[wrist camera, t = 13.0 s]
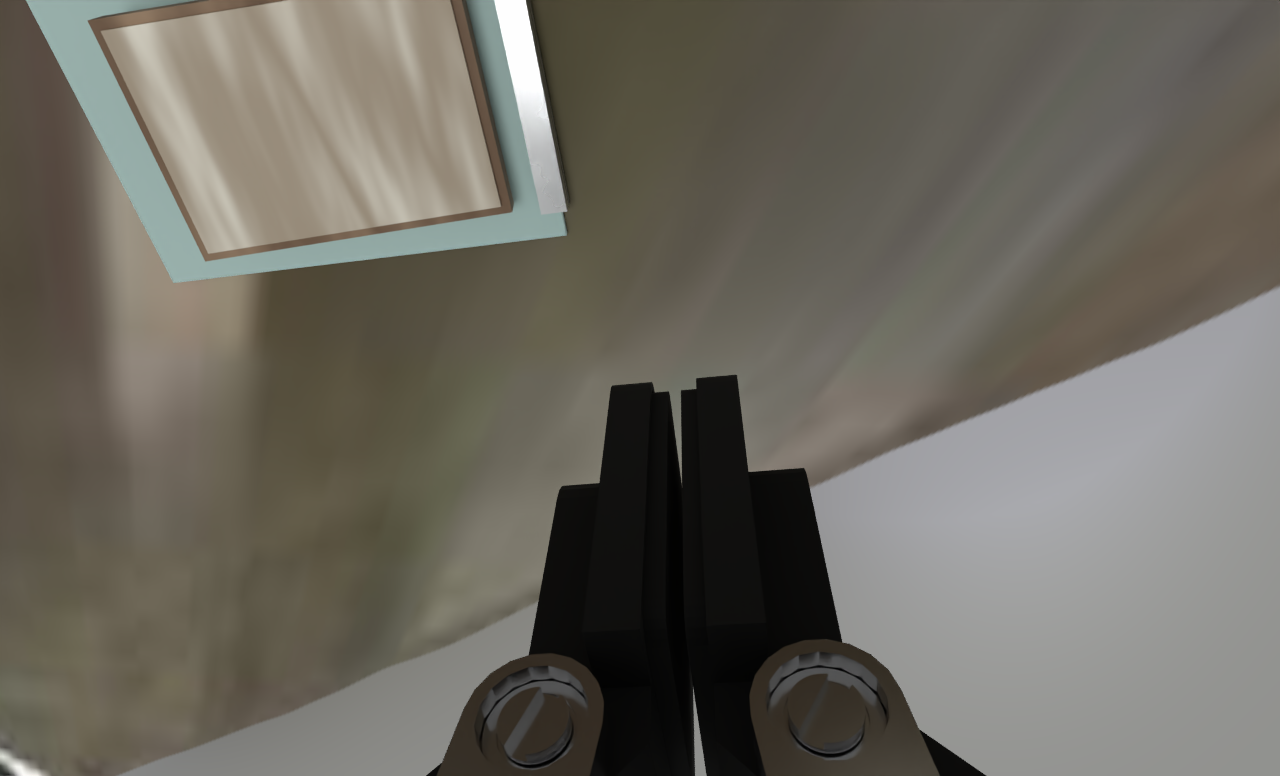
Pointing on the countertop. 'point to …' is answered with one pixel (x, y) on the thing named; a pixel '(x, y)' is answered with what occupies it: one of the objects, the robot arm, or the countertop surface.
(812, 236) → the countertop surface
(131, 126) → the mat
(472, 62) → the walnut board
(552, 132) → the rail
